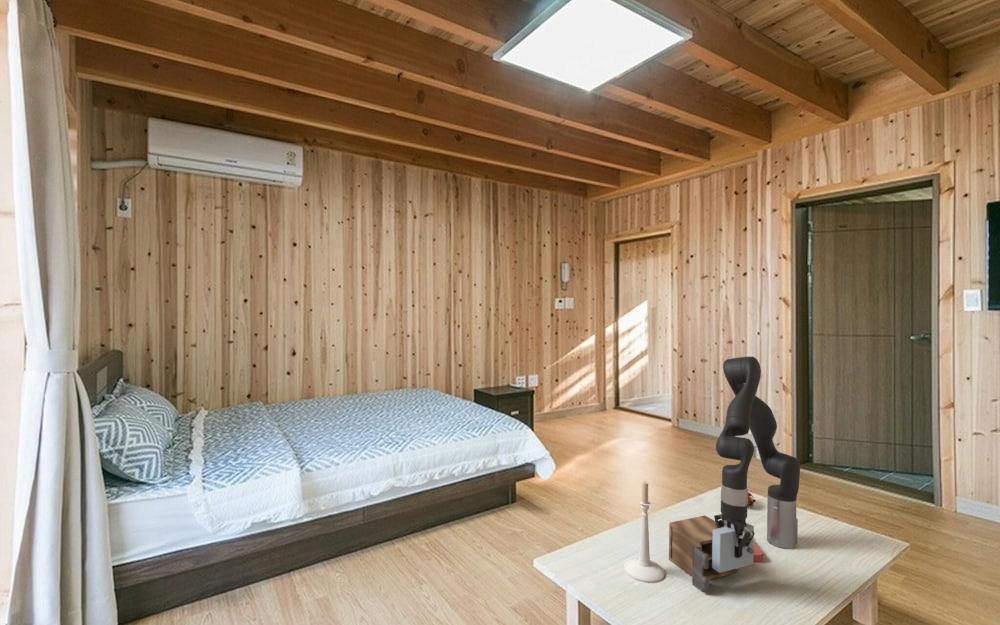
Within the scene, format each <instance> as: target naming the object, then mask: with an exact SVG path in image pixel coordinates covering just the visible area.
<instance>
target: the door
mask: <svg viewBox="0 0 1000 625" xmlns="http://www.w3.org/2000/svg"><path fill="white" fill-rule="evenodd" d="M746 524H747V528H748V529H749V530H750V531H754V532H755V526H754V525H752V524H750V523H748V522H746ZM733 532H734V531H732V529H731V528H729V527H728V528H727V527H723V528H718V529H713V538H712V568H713V569H715V570H716V571H718V572H719V573H721V572H725V571H729V570H733V569H741V568H743V567H747V566H750V565H754V562H753V553H754V543H755V541H754V539H755V535H754V536H753V538H752V540H751V542H750V544H749V546H747V547H743V549H742V556H741V557H740V558H736V557H735V556H734V552H735V541H734V538H733ZM737 535H740V534H737Z"/></svg>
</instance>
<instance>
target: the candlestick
mask: <svg viewBox="0 0 1000 625" xmlns="http://www.w3.org/2000/svg"><path fill="white" fill-rule="evenodd" d="M639 504H640V508H641V510H642V512H641V518H640V519H641V520H640V533H639V534H640V535H639V546H638V548H639V549H638V551H639V552H638V557H636V558H635V557H634V558H632V559H629V560H627V561H626V562H625V563H624V564H623V570H624V572H625V574H626V575H627V576H628V577H630V578H631V579H633V580H636V581H637V582H638V581H639V582H643V583H648V584H651V583H653V584H654V583H659V582H661V581H663V580H664V578H665V576H666V575H665V574H666V573H665V570H664V568H663V567H662V565H660V564H658V563H657V562H656V561H653V560H651V558H650V533H649V514H648V510H649V509H650V506H651V502H650V501H649V482H648V481H642V482H641V500H639Z"/></svg>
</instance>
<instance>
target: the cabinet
mask: <svg viewBox="0 0 1000 625" xmlns="http://www.w3.org/2000/svg"><path fill="white" fill-rule="evenodd" d="M721 528H722V526H721ZM713 529H717V525H716V522H715V519H713V518H710V517H709V516H707V515H705V514H704V515H699V516H695V517H691V518H685V519H681V520H676V521H671V522H669V526H668V533H669V534H668V538H669V540H668V560H669V561H670V562H671V563H673V564H674V565H675V566H676V567H678V568H679V569H681V570H682V571H684V572H685V573H686V574H687V575H689V576H690V577H692V578H691V585H692V586H693V587H695V588H696V589H697V590H699V591H700V592H702V593H703V592H704V593H708V592H709V581H711V580H713V579H718V578H721V577H725V576H728V575H732V574H736V573H738V568H736V569H733V570H729V571H725V572H721V573H719V572H718V571H716V570H715V569H713V568H712V538H713Z"/></svg>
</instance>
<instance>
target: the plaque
mask: <svg viewBox="0 0 1000 625" xmlns="http://www.w3.org/2000/svg"><path fill="white" fill-rule="evenodd" d="M763 562H764V552H763V551H762V550H761V548H760V547H759V546H758V545H757V544H756V543H755V542H754V553H753V563H758V564H759V563H763Z"/></svg>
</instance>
